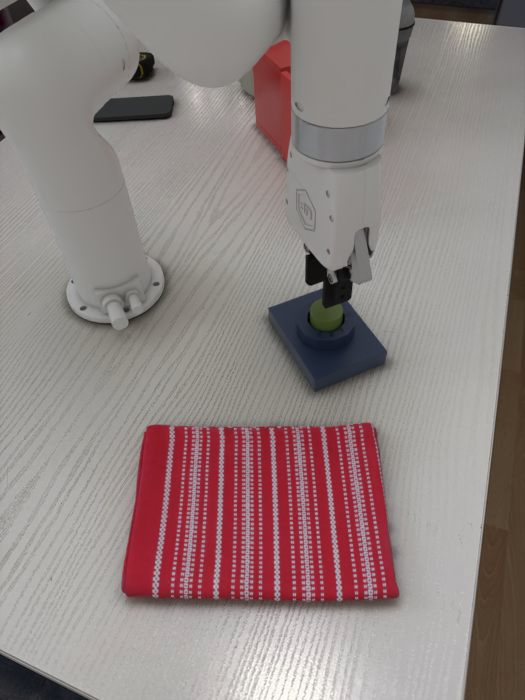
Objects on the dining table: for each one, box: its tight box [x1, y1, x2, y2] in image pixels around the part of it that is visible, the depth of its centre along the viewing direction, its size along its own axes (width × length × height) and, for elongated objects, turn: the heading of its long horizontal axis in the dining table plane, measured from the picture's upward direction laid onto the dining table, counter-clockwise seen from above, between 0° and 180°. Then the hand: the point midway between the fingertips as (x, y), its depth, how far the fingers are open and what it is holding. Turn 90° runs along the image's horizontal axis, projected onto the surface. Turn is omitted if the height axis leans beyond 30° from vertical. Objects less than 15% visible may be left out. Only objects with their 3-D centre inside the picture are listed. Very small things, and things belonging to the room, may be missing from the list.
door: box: [281, 71, 291, 163], centre depth 78 cm, size 7×18×14 cm, turn 27°
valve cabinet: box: [253, 40, 291, 155], centre depth 90 cm, size 11×18×14 cm, turn 114°
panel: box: [267, 287, 388, 393], centre depth 62 cm, size 12×9×4 cm
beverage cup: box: [390, 0, 416, 95], centre depth 95 cm, size 7×7×20 cm
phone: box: [93, 94, 175, 122], centre depth 102 cm, size 7×1×15 cm
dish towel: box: [121, 421, 400, 603], centre depth 50 cm, size 17×24×3 cm
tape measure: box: [131, 51, 156, 80], centre depth 110 cm, size 7×7×4 cm
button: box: [310, 299, 343, 332], centre depth 61 cm, size 4×4×2 cm
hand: (327, 290), depth 58 cm, fingers open, 3 cm apart
